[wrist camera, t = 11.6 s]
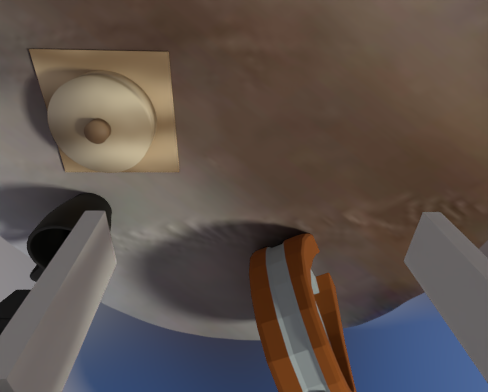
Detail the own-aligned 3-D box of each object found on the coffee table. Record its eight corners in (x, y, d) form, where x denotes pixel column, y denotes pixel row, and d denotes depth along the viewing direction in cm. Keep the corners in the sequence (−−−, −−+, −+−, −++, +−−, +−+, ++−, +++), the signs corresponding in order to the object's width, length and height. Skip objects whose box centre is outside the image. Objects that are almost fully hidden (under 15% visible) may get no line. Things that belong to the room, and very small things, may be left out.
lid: (52, 68, 36) (26, 78, 31) (151, 71, 36) (140, 81, 32) (76, 158, 41) (56, 178, 37) (161, 159, 42) (153, 179, 37)
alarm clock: (341, 301, 59) (397, 446, 40) (292, 318, 61) (322, 464, 42) (303, 214, 48) (354, 354, 29) (244, 237, 50) (255, 384, 31)
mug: (35, 221, 47) (-6, 267, 39) (85, 173, 43) (52, 213, 35) (82, 253, 50) (55, 301, 42) (133, 210, 47) (113, 255, 38)
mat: (30, 48, 35) (28, 49, 35) (168, 51, 36) (168, 51, 35) (66, 170, 43) (65, 172, 42) (179, 170, 43) (179, 172, 43)
